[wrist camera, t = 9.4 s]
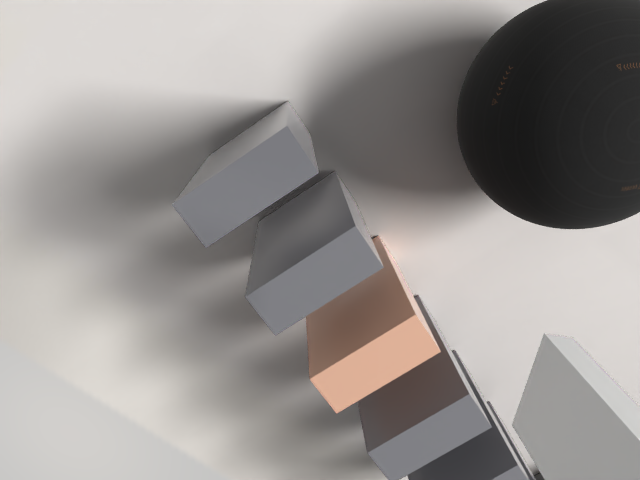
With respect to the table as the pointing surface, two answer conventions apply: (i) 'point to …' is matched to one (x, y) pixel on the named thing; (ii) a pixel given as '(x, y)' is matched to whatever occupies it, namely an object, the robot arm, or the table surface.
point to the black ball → (558, 114)
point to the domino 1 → (248, 175)
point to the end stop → (539, 477)
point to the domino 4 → (421, 412)
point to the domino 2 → (309, 254)
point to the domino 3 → (367, 336)
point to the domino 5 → (476, 452)
